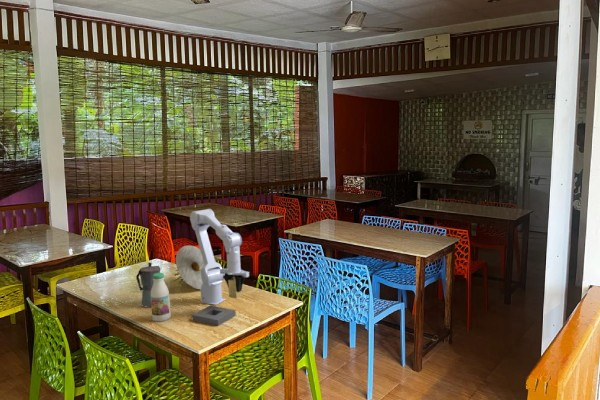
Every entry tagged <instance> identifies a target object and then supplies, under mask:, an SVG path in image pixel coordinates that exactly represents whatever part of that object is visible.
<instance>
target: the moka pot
mask: <svg viewBox="0 0 600 400" xmlns="http://www.w3.org/2000/svg"><path fill="white" fill-rule="evenodd" d="M152 264H153V263H152V262H148V264H147V265H148V266H143V267H141V268H140V269H139V270H138V271H137V275H136V277H135V279H136V281H137V284H138V289H139V290H140V291H142V294H141V295H142V296H141V303H140V305H141V306H142V305H143V306H142V307H144V306H147V307H146V308H151V289H152V287H153V283H154V280H153V274H155V273H161V267H160V266H159V265H153V266H152ZM139 277H140V278H139ZM140 281H141V282H140Z"/></svg>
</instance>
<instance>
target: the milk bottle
mask: <svg viewBox="0 0 600 400" xmlns="http://www.w3.org/2000/svg"><path fill="white" fill-rule="evenodd" d="M153 280H154V283H153V287H152V289H151V307H150V308H151V317H152V320H153V321H154V320H155V321H154V322H164V321H168V320H169V319H171V317H172V315H171V314H172V313H171V302H170V301H171V300H170V292H169V288H168V286H167V284H166V283H165V273H164V272H160V273H155V274H153Z"/></svg>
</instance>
